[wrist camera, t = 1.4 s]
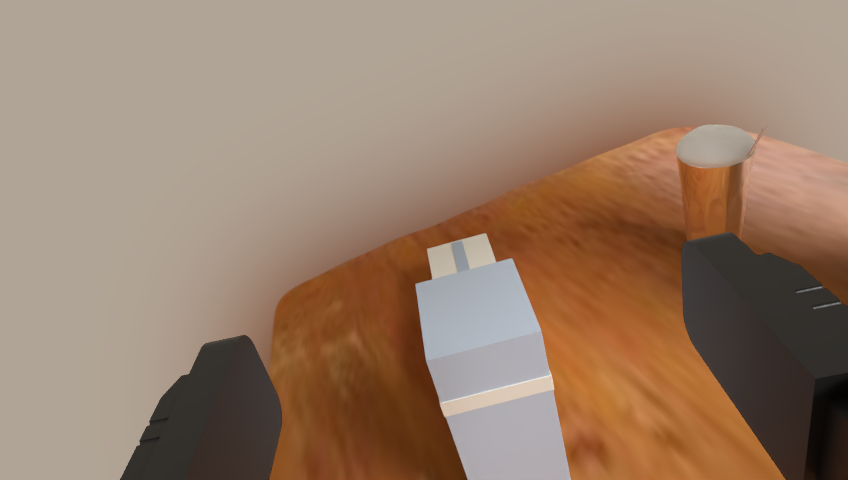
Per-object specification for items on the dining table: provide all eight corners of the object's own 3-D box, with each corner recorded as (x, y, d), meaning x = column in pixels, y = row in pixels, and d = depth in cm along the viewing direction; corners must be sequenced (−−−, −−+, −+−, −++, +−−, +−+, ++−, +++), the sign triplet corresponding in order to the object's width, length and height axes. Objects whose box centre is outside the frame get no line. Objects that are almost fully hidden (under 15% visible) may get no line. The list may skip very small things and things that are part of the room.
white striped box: (547, 424, 33) (535, 372, 31) (469, 443, 33) (452, 393, 31) (496, 275, 45) (485, 230, 43) (439, 290, 46) (426, 246, 43)
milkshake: (736, 282, 38) (741, 144, 33) (665, 254, 42) (659, 127, 37) (776, 248, 40) (787, 111, 35) (703, 224, 44) (703, 99, 39)
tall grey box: (578, 513, 28) (543, 331, 22) (486, 535, 29) (424, 362, 22) (549, 429, 33) (513, 257, 26) (469, 449, 33) (414, 283, 27)
